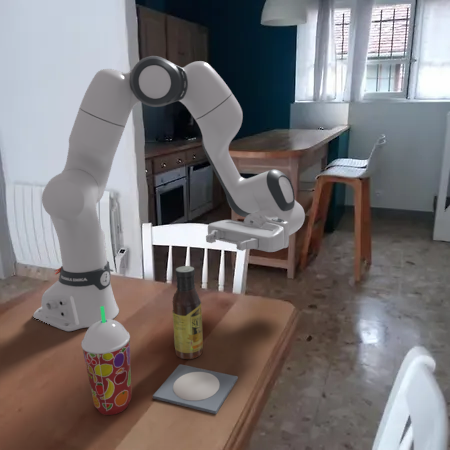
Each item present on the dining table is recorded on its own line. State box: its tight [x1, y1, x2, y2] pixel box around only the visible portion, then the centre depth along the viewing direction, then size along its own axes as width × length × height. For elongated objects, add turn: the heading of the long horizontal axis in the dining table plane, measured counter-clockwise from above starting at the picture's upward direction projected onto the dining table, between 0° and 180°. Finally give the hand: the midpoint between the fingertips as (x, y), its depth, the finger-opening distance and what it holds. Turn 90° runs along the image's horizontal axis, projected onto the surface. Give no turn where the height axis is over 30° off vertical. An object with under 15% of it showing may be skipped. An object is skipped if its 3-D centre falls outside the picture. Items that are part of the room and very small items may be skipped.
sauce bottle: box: [172, 265, 204, 360], centre depth 96 cm, size 7×6×20 cm
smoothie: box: [80, 306, 132, 416], centre depth 80 cm, size 8×8×20 cm
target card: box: [152, 364, 239, 415], centre depth 86 cm, size 13×11×1 cm
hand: (223, 243), depth 101 cm, fingers open, 8 cm apart
